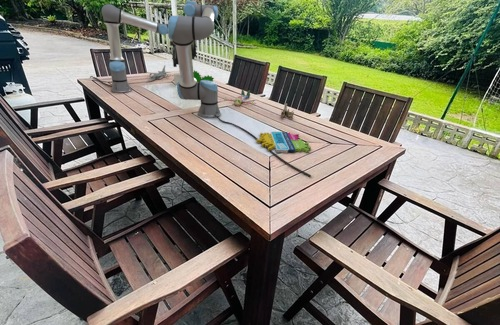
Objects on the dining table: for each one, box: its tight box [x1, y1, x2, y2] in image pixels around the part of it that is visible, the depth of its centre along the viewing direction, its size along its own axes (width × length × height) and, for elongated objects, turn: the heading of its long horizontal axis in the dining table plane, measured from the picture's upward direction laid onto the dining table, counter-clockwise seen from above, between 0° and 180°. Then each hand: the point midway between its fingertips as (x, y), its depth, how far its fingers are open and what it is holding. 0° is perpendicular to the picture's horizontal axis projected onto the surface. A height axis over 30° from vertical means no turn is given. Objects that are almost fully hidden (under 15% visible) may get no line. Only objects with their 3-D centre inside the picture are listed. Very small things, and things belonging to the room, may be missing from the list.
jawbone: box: [280, 103, 295, 120], centre depth 192 cm, size 9×15×10 cm
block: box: [173, 72, 181, 86], centre depth 257 cm, size 7×6×10 cm
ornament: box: [193, 69, 215, 83], centre depth 248 cm, size 21×8×15 cm, turn 105°
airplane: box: [145, 65, 172, 83], centre depth 274 cm, size 38×31×10 cm
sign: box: [256, 131, 312, 154], centre depth 152 cm, size 26×2×30 cm
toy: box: [223, 89, 257, 106], centre depth 219 cm, size 28×7×30 cm
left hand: (176, 65), depth 246 cm, fingers open, 13 cm apart
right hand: (193, 57), depth 197 cm, fingers open, 13 cm apart
